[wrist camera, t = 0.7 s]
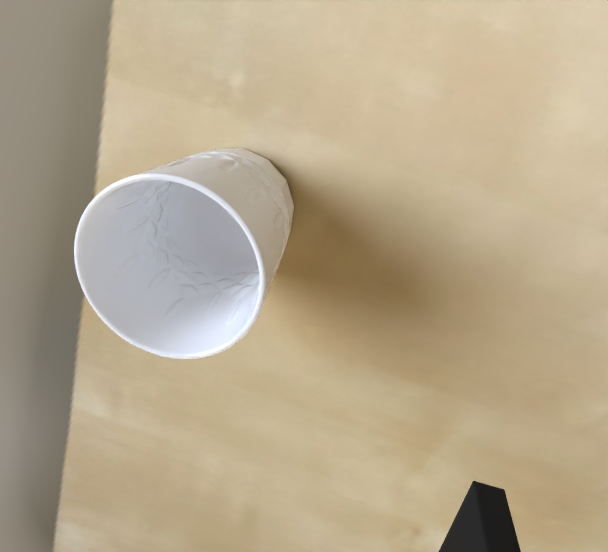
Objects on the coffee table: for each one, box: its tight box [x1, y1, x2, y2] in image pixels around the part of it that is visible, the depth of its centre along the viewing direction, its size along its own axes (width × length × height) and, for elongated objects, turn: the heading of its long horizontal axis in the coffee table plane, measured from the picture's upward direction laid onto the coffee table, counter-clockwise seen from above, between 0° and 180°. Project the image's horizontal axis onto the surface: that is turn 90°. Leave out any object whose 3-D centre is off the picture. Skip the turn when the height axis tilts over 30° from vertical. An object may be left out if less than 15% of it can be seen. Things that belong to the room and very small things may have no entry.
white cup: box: [74, 148, 294, 359], centre depth 25 cm, size 8×8×10 cm
